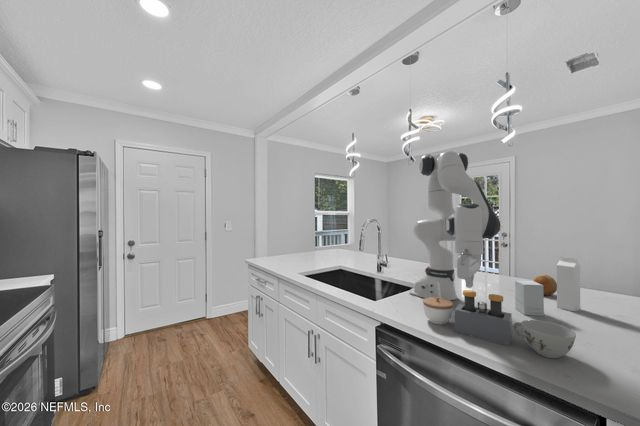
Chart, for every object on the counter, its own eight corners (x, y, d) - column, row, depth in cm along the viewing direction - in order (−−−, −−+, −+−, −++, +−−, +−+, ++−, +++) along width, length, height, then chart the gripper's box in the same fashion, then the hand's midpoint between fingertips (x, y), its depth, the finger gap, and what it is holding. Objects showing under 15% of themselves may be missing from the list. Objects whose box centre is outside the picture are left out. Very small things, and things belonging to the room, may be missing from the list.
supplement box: (544, 316, 108) (544, 285, 108) (523, 315, 110) (523, 284, 110) (533, 309, 116) (533, 280, 116) (514, 308, 117) (514, 279, 117)
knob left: (461, 317, 96) (461, 292, 96) (464, 314, 99) (464, 289, 99) (475, 320, 93) (474, 294, 93) (477, 316, 96) (477, 291, 96)
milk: (574, 311, 113) (574, 259, 112) (556, 307, 118) (556, 257, 118) (580, 309, 116) (580, 258, 115) (562, 304, 121) (562, 256, 121)
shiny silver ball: (477, 311, 93) (476, 303, 93) (478, 309, 95) (478, 301, 95) (486, 313, 92) (486, 305, 91) (487, 311, 94) (487, 302, 94)
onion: (534, 290, 142) (534, 271, 142) (559, 294, 135) (558, 274, 135) (530, 294, 136) (530, 275, 136) (556, 299, 129) (556, 278, 129)
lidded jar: (447, 329, 97) (447, 304, 97) (419, 321, 105) (418, 298, 105) (456, 320, 105) (456, 297, 105) (429, 313, 113) (429, 291, 113)
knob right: (487, 323, 91) (487, 296, 91) (489, 319, 94) (489, 293, 94) (502, 326, 88) (502, 298, 88) (504, 322, 91) (504, 295, 91)
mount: (454, 331, 96) (454, 309, 96) (460, 324, 102) (460, 303, 102) (509, 346, 85) (509, 321, 85) (511, 336, 91) (511, 313, 91)
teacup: (582, 356, 79) (582, 329, 78) (567, 370, 72) (566, 341, 72) (523, 336, 91) (522, 313, 91) (505, 346, 85) (504, 321, 85)
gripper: (472, 252, 86) (473, 295, 86) (484, 246, 102) (484, 282, 102) (451, 251, 90) (452, 292, 90) (465, 245, 106) (465, 279, 106)
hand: (469, 286), depth 96 cm, fingers closed
